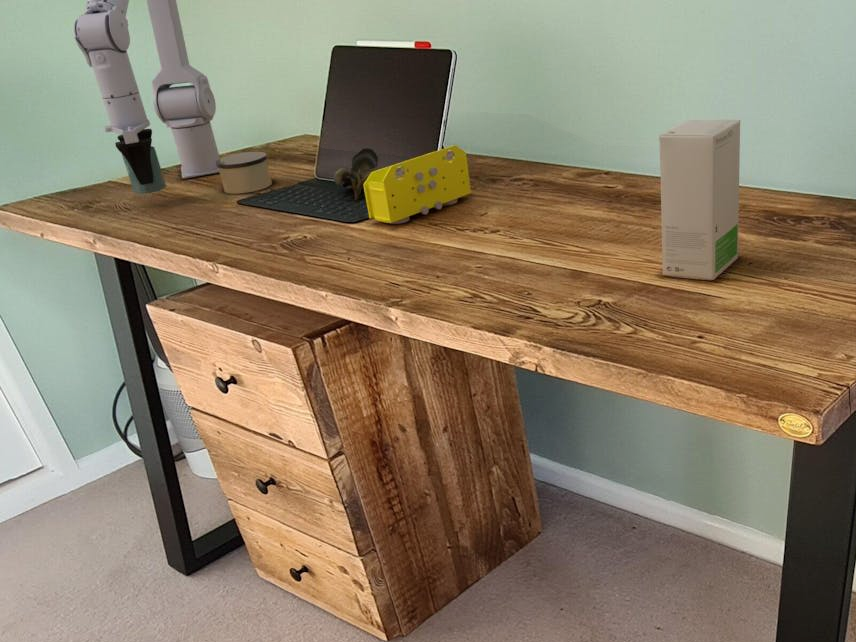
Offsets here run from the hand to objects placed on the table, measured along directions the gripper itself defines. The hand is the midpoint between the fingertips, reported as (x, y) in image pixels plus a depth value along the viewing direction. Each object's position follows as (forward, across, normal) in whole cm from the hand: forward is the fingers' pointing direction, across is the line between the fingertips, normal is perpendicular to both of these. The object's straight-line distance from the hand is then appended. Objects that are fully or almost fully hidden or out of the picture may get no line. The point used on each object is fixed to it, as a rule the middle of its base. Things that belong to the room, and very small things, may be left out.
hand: (147, 179), depth 152 cm
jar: (+4, -1, +16) cm, 17 cm away
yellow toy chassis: (+4, +35, +39) cm, 53 cm away
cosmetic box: (+4, +79, +61) cm, 100 cm away
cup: (+2, 0, 0) cm, 2 cm away
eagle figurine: (+4, +18, +33) cm, 38 cm away
